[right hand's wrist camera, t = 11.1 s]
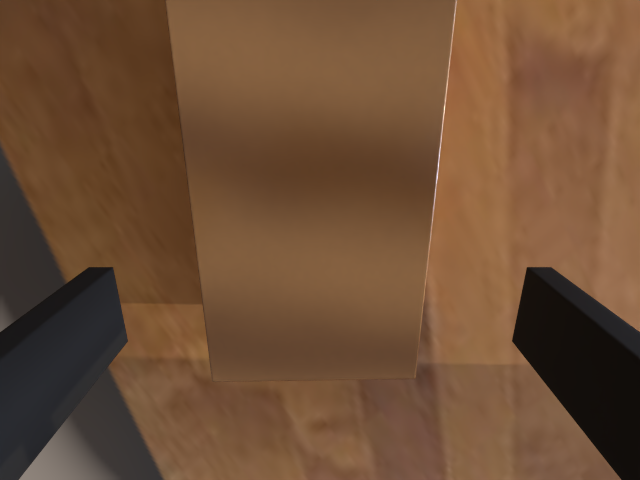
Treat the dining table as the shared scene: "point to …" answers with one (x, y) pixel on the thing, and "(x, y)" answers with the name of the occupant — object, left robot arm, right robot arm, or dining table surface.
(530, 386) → the dining table surface
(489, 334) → the dining table surface
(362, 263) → the wooden beam
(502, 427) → the dining table surface
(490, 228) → the dining table surface
